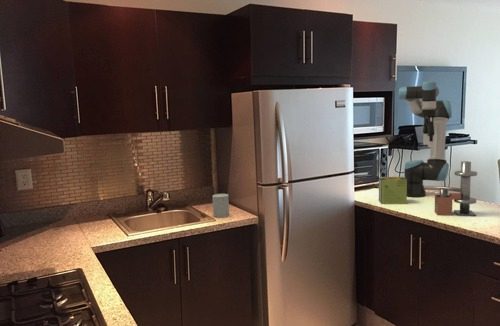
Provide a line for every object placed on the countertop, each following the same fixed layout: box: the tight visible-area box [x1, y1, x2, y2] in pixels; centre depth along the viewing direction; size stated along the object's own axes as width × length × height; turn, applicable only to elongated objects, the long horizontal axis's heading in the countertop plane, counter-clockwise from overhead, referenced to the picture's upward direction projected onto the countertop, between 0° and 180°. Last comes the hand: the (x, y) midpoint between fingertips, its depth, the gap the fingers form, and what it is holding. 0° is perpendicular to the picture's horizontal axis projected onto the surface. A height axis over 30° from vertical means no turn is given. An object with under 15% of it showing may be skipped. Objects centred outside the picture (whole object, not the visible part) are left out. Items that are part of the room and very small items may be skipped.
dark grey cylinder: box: [439, 187, 449, 197], centre depth 236 cm, size 4×4×14 cm
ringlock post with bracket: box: [434, 160, 478, 217], centre depth 234 cm, size 11×20×29 cm, turn 78°
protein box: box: [378, 176, 408, 205], centre depth 267 cm, size 10×15×16 cm
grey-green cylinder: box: [212, 193, 230, 219], centre depth 251 cm, size 10×10×12 cm
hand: (428, 146), depth 246 cm, fingers open, 13 cm apart
